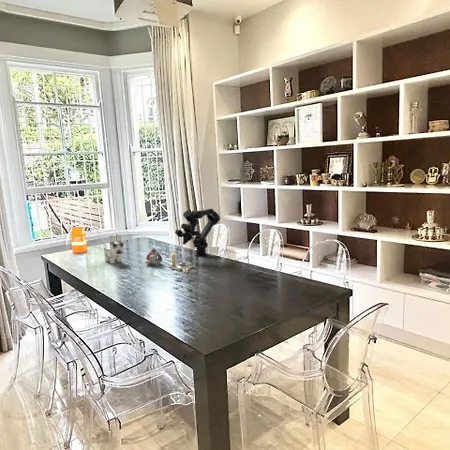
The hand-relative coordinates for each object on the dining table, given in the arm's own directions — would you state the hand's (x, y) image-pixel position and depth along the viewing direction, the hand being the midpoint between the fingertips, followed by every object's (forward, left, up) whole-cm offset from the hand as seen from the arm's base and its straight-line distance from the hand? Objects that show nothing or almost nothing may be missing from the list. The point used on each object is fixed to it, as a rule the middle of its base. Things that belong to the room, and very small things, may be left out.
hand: (183, 244), depth 266 cm
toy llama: (+30, -42, -13) cm, 53 cm away
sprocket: (+8, +8, -13) cm, 17 cm away
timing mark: (+14, +18, -13) cm, 26 cm away
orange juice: (+30, -96, -13) cm, 101 cm away
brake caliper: (+16, -13, -13) cm, 25 cm away
